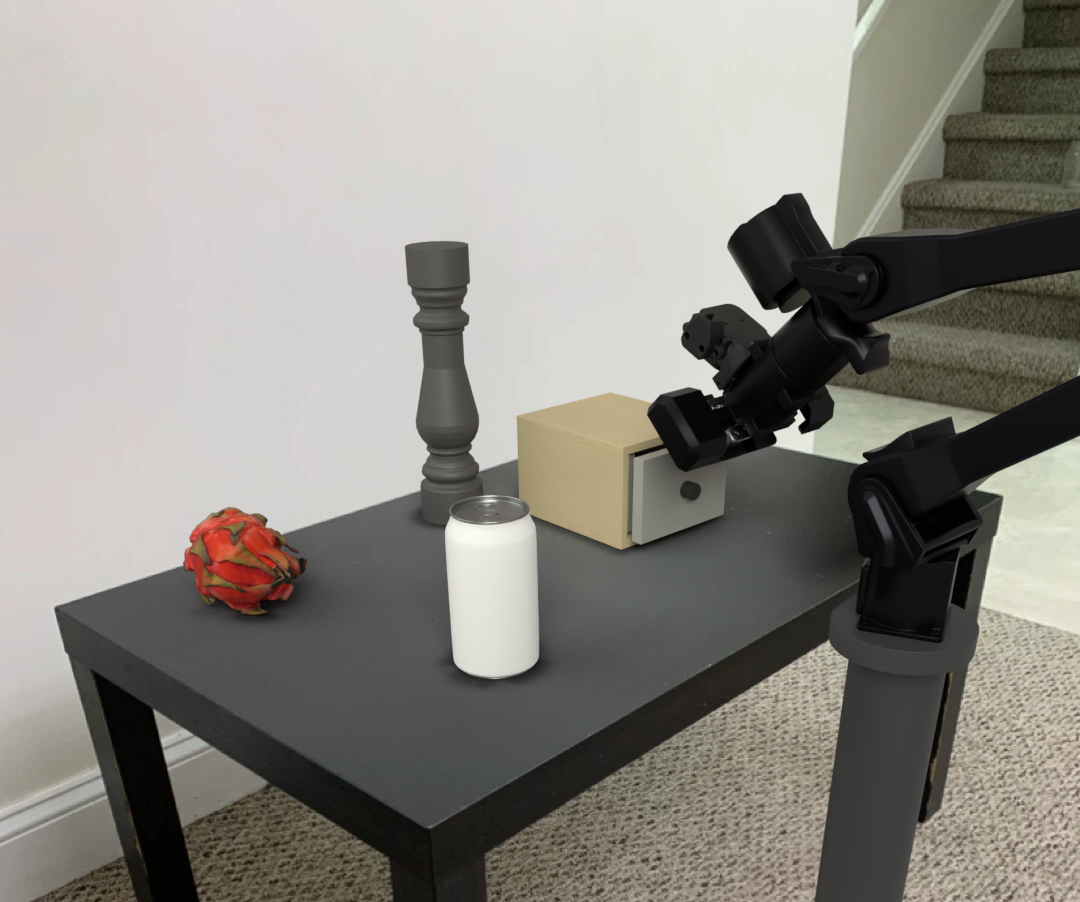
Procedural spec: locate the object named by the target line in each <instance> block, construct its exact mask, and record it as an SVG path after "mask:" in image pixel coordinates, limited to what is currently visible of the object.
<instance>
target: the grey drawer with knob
mask: <svg viewBox="0 0 1080 902" xmlns="http://www.w3.org/2000/svg"><path fill="white" fill-rule="evenodd" d="M727 472H728V460H726V461H722V462H718V463H715V464H712V465H708V466H704V467H701V468H697V469H694V470H691V471H688V472H684V471H682V470H680V469H679V468H677V466H676V464H675V463H674V461H673V459H672V458H671V456H670V454H669V452H668V451H667V449H666V447H665V445H664V444H662V445H658V446H655V447H652V448H648V449H645V450H642V451H638V452H635V453H632V454H629V479H628V524H627V532H630V531H632V542H635V543H638V544H637V545H641V546H642V545H644V544H647V543H650V542H653V541H655V540H659V539H660V538H663V537H666V536H668V535H672V534H674V533H678V532H679V531H683V530H685V529H688V528H690V527H693V526H696V525H699V524H701V523H704V522H707V521H709V520H713V519H715V518H718V517H721V516H724V515H725V500H726V487H727V474H728V473H727Z"/></svg>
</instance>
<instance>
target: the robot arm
mask: <svg viewBox="0 0 1080 902" xmlns="http://www.w3.org/2000/svg"><path fill="white" fill-rule="evenodd" d="M726 248H727V251H728V253H729V254H730V256H731V258H732V259H733V261H734V263H735V264H736V266H737V268H738V270H739V271H740V273H741V275H742V276H743V278H744V280H745V281H746V283H747V285H748V286H749V288H750V290H751V292H752V293H753V295H754V296H755V298H756V300H757V302H758V303H759V305H760V306H761V309H763V310H765V311H773V310H776V309H778V310H779V311H780V313H781V314H788V313H792V312H793V311H796V310H797V309H798V310H797V311H796V312H794V314H792V316H791V317H790V318H789V319H788V320H786V321H785V323H784V324H782V326H780V328H779V329H778V330H777V331H776V332H774V334H773V335H772V336H771V334H769V332H768V330H767V329H766V328H765V327H764V326H763V325H762V324H761V323H759V322H758V321H757V320H756V319H755V318H754V317H752V316H751V315H750V314H748V313H747V311H745V310H744V309H743V308H741V307H740V306H738V305H737V304H733V303H722V304H719V305H713V306H709V307H703V308H701V309H700V310H699V312H695V313H693V314H692V316H691V318H690V319H689V321H685V322H684V323H683V324H682V334H681V336H680V342H681V346H682V348H684V349H685V350H686V351H687V352H688V353H690V355H692V356H693V357H694V358H695V359H696V360H698V361H701V360H704V361H706V362H707V364H709V366H711V368H713V369H714V370H717V373H715V374H714V376H712V377H711V380H712V381H713V383H714V384H715V386H716V388H717V390H718V391H722V395H720V396H717V397H715V396H714V394H712V393H709V394H706V395H704V393H703V391H702V389H699V388H694V387H691V386H687V387H684V388H680V389H675V390H672V391H668V392H665V393H660V394H659V395H658V396H657V397H656V398H655V399H654V401H652V402H651V403H652V404H651V405H650V406H649V407H648V412H647V416H648V418H649V419H650V421H651V423H652V425H653V426H654V428H655V430H656V432H657V433H658V435H659V437H660V438H661V440H662V442H663V444H664V445H665V447H666V449H667V451H668V452H669V454H670V456H671V458H672V459H673V461H674V463H675V464H676V466H677V468H679V469H680V470H682V471H684V472H688V471H691V470H694V469H697V468H701V467H704V466H708V465H712V464H715V463H718V462H722V461H726V460H727V461H729V460H732V459H735V458H738V457H741V456H744V455H747V454H750V453H752V452H757V451H760V450H763V449H767V448H769V447H772V446H775V445H776V444H777V442H778V439H777V435H776V434H775V432H779V431H781V430H784V429H787V428H790V426H792V425H793V424H794V423H795V422H797V419H796V416H797V415H799V412H800V413H801V415H802V417H803V419H804V420H803V421H802V422H801V423H800V424H799V425H798V426H797V430H798V431H799V433H800V435H801V436H802V435H805V434H808V433H811V432H814V431H816V430H817V431H818V430H820V429H821V428H822V427H824V426H825V425H826V424H827V423H828V422H829V421H831V420H832V419H833V418H834V413H835V412H834V411H835V404H836V402H835V401H834V398H833V397H832V396H831V394H830V391H829V390H828V388H827V386H826V385H828V384H829V383H830V382H832V381H833V379H835V378H836V377H837V376H838V375H839V374H841V372H842V371H843V370H844V369H845V368H847V367H848V366H849V365H851V368H852V369H853V370H854V373H856V374H857V375H858V376H863V375H865V374H866V375H867V374H869V373H872V372H876V371H880V370H883V369H886V368H888V367H889V366H890V363H891V362H890V361H891V359H890V358H891V357H890V356H891V352H890V351H891V350H890V346H889V345H890V340H891V337H892V336H891V334H890V333H889V332H881V331H879V330H878V329H877V328H876V326H875V325H874V324H873V323H876V322H880V321H884V320H888V319H892V318H895V317H900V316H905V315H909V314H912V313H916V312H920V311H923V310H926V309H929V308H931V307H934V306H936V305H939V304H942V303H944V302H948V301H951V300H952V299H955V298H958V297H959V296H962V295H964V294H966V293H969V292H971V291H973V290H976V289H978V288H983V287H990V286H996V285H1001V284H1007V283H1013V282H1019V281H1025V280H1030V279H1031V280H1032V279H1037V278H1042V277H1048V276H1049V277H1050V276H1054V275H1059V274H1067V273H1071V272H1077V271H1080V207H1077V208H1073V209H1069V210H1064V211H1059V212H1055V213H1049V214H1046V215H1045V214H1044V215H1040V216H1035V217H1031V218H1027V219H1022V220H1018V221H1013V222H1008V223H1003V224H999V225H995V226H990V227H985V228H980V229H978V228H977V229H963V228H945V227H943V228H909V229H902V230H897V231H891V232H885V233H880V234H873V235H867V236H862V237H858V238H856V239H853V240H851V241H850V242H849V243H847V244H846V245H845V246H844V247H843V246H842V247H838V248H833V247H832V245H831V243H830V242H829V240H828V239H827V236H826V235H825V233H823V230H822V229H821V227H820V225H819V224H818V222H817V221H816V219H815V217H814V215H813V213H812V210H811V207H810V204H809V203H808V201H807V199H806V197H805V195H804V194H803V193H802V192H795V193H787V194H785V193H784V194H783V195H781V197H780V198H779V199H778V200H777V201H776V203H775V204H772V205H771V206H769V207H767V208H764V209H763V210H761V211H760V212H758V213H757V214H755V215H754V216H753V217H751V218H749V220H748V221H746V222H743V223H741V224H740V225H739V226H738V227H737V228H736V229H735V230H734V232H733V233H732V234H731V235H730V237H729V239H728V241H727V244H726ZM798 411H799V412H798ZM1079 437H1080V374H1079V375H1077V376H1075V377H1073V378H1071V379H1069V380H1067V381H1064V382H1062V383H1060V384H1059V385H1056V386H1054V387H1052V388H1050V389H1048V390H1046V391H1044V392H1042V393H1039V394H1038V395H1035V396H1034V397H1032V398H1030V399H1028V400H1026V401H1023V402H1022V403H1019V404H1018V405H1015V406H1014V407H1012V408H1009V409H1007V410H1005V411H1003V412H1001V413H999V414H997V415H995V416H993V417H991V418H988V419H986V420H984V421H982V422H980V423H979V424H976V425H974V426H972V427H970V428H968V429H966V430H964V431H959V432H956V429H955V425H954V420H953V417H952V416H947V417H944V418H940V419H939V420H935V421H933V422H930V423H927V424H924V425H921V426H919V427H916V428H915V427H914V428H913V429H909V430H907V431H905V432H904V433H902V434H901V435H899V436H897V437H896V438H895V439H893V440H892V441H891V442H890V443H886V444H884V445H881V446H878V447H875V448H873V449H870V450H866V451H864V452H862V454H861V457H862V458H863V459H865V461H864V462H862V463H860V464H859V465H858V466H857V467H855V468H854V469H853V471H852V472H851V473H850V474H849V476H848V477H849V482H848V486H847V504H848V507H849V510H850V513H851V516H852V521H853V527H854V533H855V538H856V544H857V549H858V554H859V556H861V557H864V558H865V559H864V561H863V563H862V565H861V569H860V575H859V582H858V589H857V595H858V596H857V603H856V610H855V612H856V613H857V614H859V615H861V616H860V618H859V620H858V623H857V629H858V630H860V631H865V632H871V633H877V634H884V635H890V636H896V637H902V638H909V639H915V640H921V641H927V642H934V643H941V642H942V641H943V638H944V635H945V631H946V628H947V624H948V621H949V617H950V614H951V609H952V608H951V607H950V603H951V602H952V596H953V590H954V586H955V581H956V580H955V579H956V575H957V569H958V563H959V560H960V559H959V558H960V553H961V547H963V546H965V545H969V544H972V543H973V542H974V540H975V539H976V537H977V536H978V534H979V532H980V531H981V529H982V527H983V525H984V523H985V522H984V519H983V517H982V515H981V514H980V512H979V510H978V509H977V508H976V506H975V505H974V503H973V501H972V500H971V498H970V496H969V495H970V494H971V493H973V492H974V491H975V490H976V489H978V488H979V487H980V486H981V485H982V484H984V483H985V482H986V481H987V480H988V479H990V478H991V477H992V476H994V475H995V474H997V473H1000V472H1001V471H1003V470H1006V469H1008V468H1010V467H1013V466H1015V465H1017V464H1020V463H1022V462H1024V461H1027V460H1030V459H1032V458H1033V457H1037V456H1038V455H1040V454H1042V453H1045V452H1047V451H1049V450H1052V449H1054V448H1056V447H1058V446H1062V445H1063V444H1065V443H1067V442H1071V441H1072V440H1075V439H1077V438H1079Z"/></svg>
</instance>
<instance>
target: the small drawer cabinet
mask: <svg viewBox="0 0 1080 902" xmlns="http://www.w3.org/2000/svg"><path fill="white" fill-rule="evenodd" d="M652 403H653V402H650V401H646V400H642V399H638V398H634V397H630V396H626V395H622V394H618V393H615V392H611V391H610V392H606V393H602V394H598V395H593V396H590V397H586V398H581V399H578V400H573V401H569V402H566V403H561V404H559V405H554V406H550V407H546V408H542V409H537V410H534V411H530V412H526V413H522V414H518V415H516V441H517V442H516V443H517V472H518V474H517V475H518V477H517V478H518V498H519V499H521V500H523V501H525V502H527V503H528V505H529V507H530V510H529V514H530V516H531V517H535V518H538V519H539V520H543V521H545V522H547V523H550V524H553V525H556V526H558V527H559V528H560V527H561V528H563V529H565V530H568V531H571V532H573V533H576V534H578V535H581V536H583V537H586V538H588V539H591V540H594V541H597V542H599V543H602V544H605V545H607V546H610V547H612V548H615V549H618V550H619V551H620V550H625V549H627V548H630V547H633V546H636V545H639V544H638V543H635V542H632V531H630V532H627V524H628V479H629V454H632V453H635V452H638V451H642V450H645V449H648V448H652V447H655V446H658V445H662V444H663V442H662V440H661V438H660V437H659V435H658V433H657V432H656V430H655V428H654V426H653V425H652V423H651V421H650V419H649V418H648V416H647V412H648V407H649V406H650V405H651V404H652Z"/></svg>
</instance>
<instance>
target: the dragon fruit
mask: <svg viewBox="0 0 1080 902" xmlns="http://www.w3.org/2000/svg"><path fill="white" fill-rule="evenodd" d="M268 521H269V519H268V518H267V517H266V516H265V515H263V514H262V513H259V512H257V513H256V512H255V513H248V512H244V511H243V510H241V509H240V508H237V507H234V506H233V507H232V506H231V507H230V506H228V507H225V508H222V509H220V510H219V511H217V512H211V513H209V514H208V515H207V516H206V518H205V519H203V520H202V521H201V522H199V524H197V525H196V526H195V527H194V528H193V530H192V531H191V532H190V535H189V537H188V539H189V542H190V543H191V546H190V547H187V548H185V550H184V554H183V556H184V559H183V560H184V561H183V562H182V565H183V570H184V571H185V572H192V573H193V572H194V576H195V587H196V589H197V592H198V594H199V595H200V597H201V598H202V600H203V601H204V603H206V604H207V605H209V606H211V605H213V604H214V603H216V602H217V601H218V600H220V601H222V602H224V603H225V604H227V605H228V606H229V607H230V608H231V609H233V610H235V611H239V612H240V614H242V615H249V616H259V615H265V614H269V613H270V612H269V611H268V610H264V609H263V608H262V607H261V601H266V600H268V601H277V600H279V599H280V600H282V601H285V602H286V601H287V600H289V597H290V596H291V594H293V592H294V591H295V584H294V581H293V580H295V579H297V578H299V577H300V576H302V575H303V574H304V573H305V572H306V570H307V565H308V560H307V557H306V556H300V558H299V557H295V556H293V555H291V554H289V553H287V552H285V551H283V550H282V547H285V548H286V549H287V550H288V551H291V552H292V553H293V554H300V551H298V549H296V548H293V547H291V546H290V545H289V544H288V539H287V537H285V536H284V535H282V534H281V532H280V531H278V530H275V529H273V528H272V527H266V526H267V523H268Z"/></svg>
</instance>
